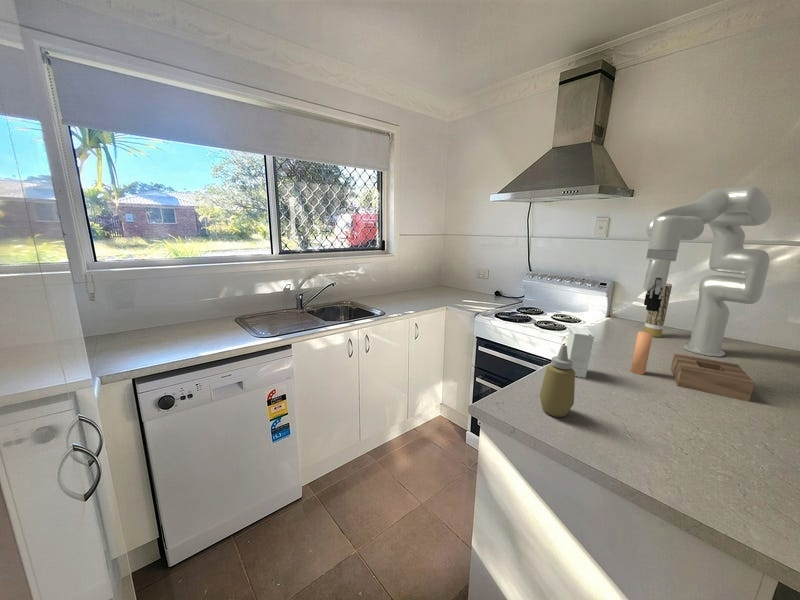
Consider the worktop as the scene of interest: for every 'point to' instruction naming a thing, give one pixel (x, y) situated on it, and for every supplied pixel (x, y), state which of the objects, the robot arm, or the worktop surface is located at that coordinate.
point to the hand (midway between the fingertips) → (650, 308)
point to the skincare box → (579, 349)
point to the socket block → (711, 376)
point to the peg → (641, 352)
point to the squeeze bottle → (558, 385)
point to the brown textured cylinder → (658, 314)
